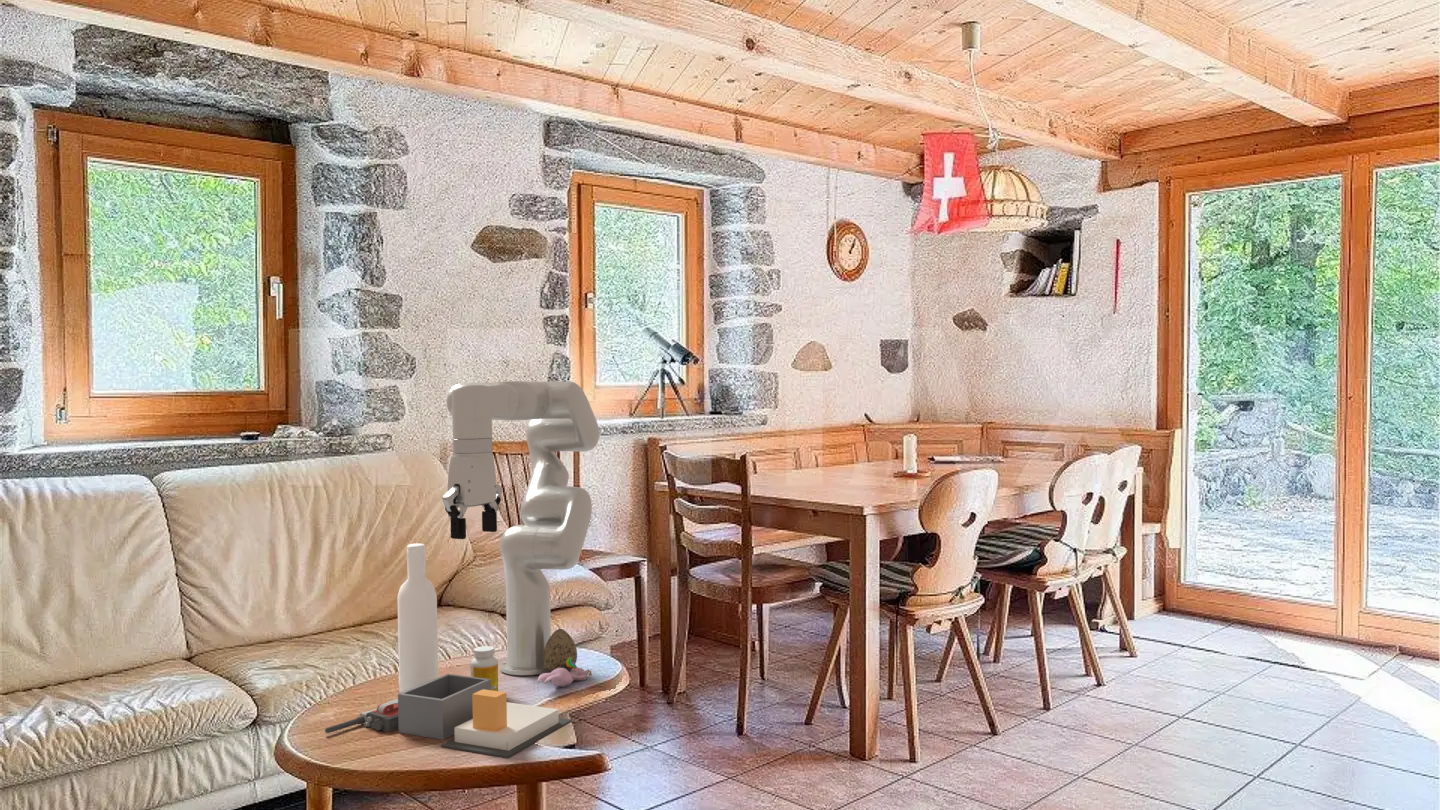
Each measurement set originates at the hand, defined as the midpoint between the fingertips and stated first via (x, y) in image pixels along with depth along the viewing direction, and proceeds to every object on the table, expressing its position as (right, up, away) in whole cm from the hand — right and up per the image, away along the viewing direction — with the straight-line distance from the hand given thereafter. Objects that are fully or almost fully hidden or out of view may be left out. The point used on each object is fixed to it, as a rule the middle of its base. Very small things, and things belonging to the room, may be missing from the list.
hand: (474, 535), depth 205 cm
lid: (+10, -33, -17) cm, 39 cm away
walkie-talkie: (-14, -34, -10) cm, 39 cm away
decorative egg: (+14, -33, +20) cm, 41 cm away
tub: (-3, -34, -11) cm, 35 cm away
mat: (+10, -34, -17) cm, 39 cm away
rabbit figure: (+16, -33, +13) cm, 39 cm away
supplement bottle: (+1, -33, +6) cm, 34 cm away
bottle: (-14, -33, +11) cm, 38 cm away
